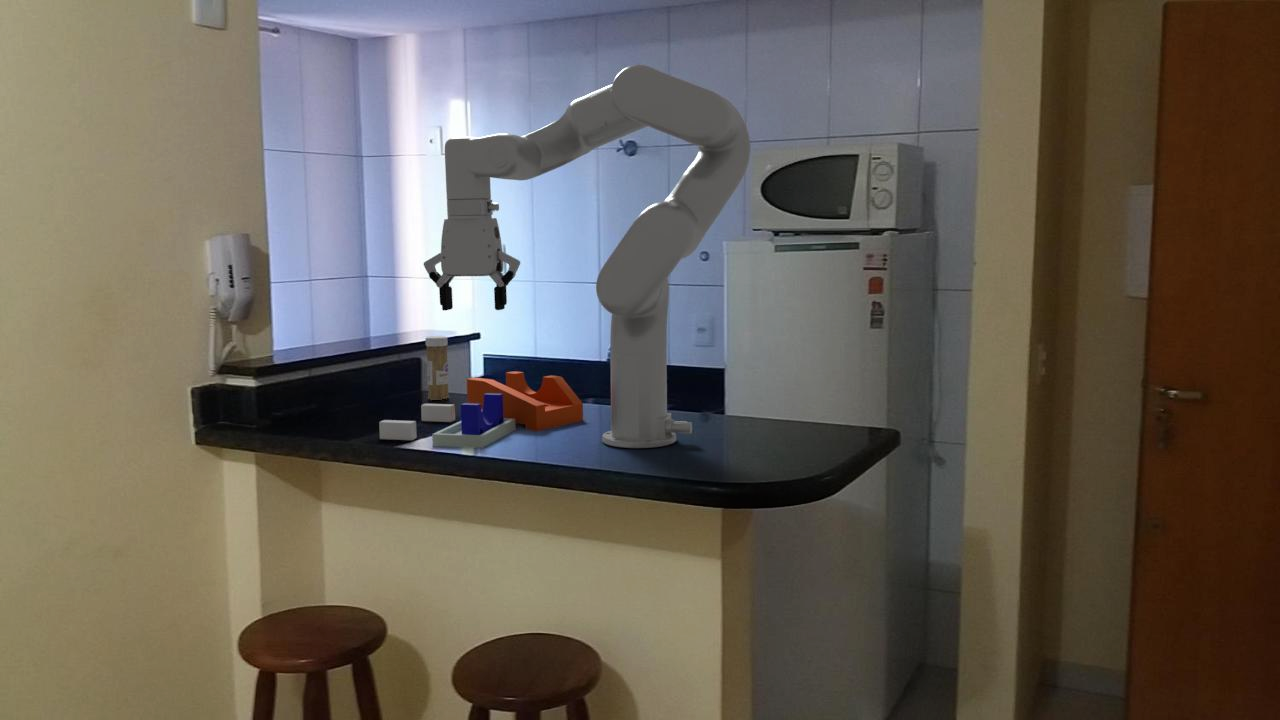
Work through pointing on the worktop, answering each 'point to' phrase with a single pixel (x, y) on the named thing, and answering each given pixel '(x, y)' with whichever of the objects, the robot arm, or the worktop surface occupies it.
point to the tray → (456, 439)
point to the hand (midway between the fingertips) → (473, 309)
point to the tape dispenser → (530, 400)
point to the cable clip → (482, 415)
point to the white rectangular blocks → (408, 428)
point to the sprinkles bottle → (437, 367)
